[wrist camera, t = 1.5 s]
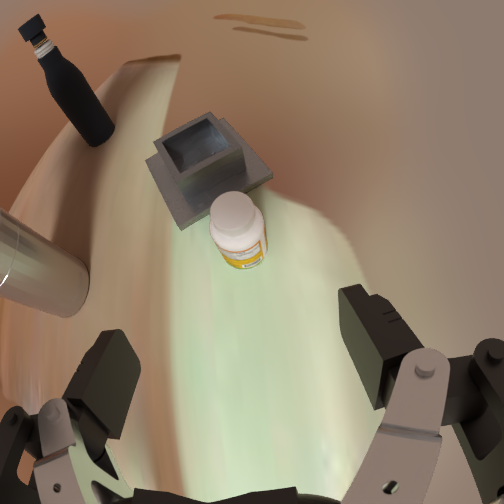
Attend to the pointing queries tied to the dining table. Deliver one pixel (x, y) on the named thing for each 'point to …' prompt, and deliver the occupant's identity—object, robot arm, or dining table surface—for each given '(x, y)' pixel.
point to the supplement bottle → (238, 230)
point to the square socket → (203, 167)
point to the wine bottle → (69, 86)
